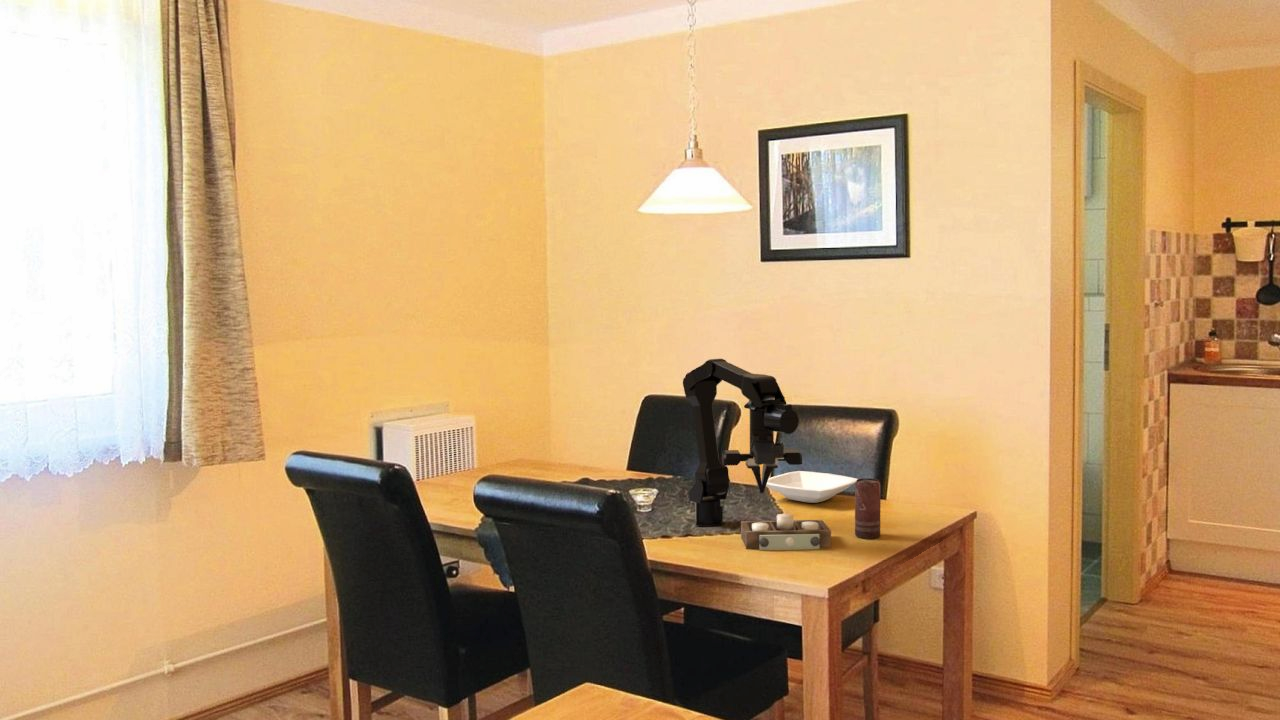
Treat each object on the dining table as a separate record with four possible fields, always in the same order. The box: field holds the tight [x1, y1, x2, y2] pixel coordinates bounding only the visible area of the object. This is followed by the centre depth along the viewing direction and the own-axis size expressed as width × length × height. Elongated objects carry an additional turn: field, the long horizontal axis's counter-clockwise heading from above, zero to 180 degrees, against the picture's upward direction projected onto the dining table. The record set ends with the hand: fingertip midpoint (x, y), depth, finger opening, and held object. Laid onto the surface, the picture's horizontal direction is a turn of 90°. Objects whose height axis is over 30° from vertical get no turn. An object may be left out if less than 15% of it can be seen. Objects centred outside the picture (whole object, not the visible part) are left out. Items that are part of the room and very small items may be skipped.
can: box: [854, 478, 882, 540], centre depth 268 cm, size 6×6×14 cm
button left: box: [752, 522, 769, 531], centre depth 264 cm, size 4×4×3 cm
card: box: [759, 534, 820, 551], centre depth 258 cm, size 14×1×4 cm, turn 91°
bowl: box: [761, 470, 859, 504], centre depth 311 cm, size 22×23×6 cm
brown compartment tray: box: [740, 519, 832, 550], centre depth 265 cm, size 20×11×4 cm, turn 91°
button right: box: [802, 521, 818, 530], centre depth 265 cm, size 4×4×3 cm
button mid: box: [776, 513, 795, 530], centre depth 264 cm, size 4×4×3 cm
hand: (761, 492), depth 265 cm, fingers closed
